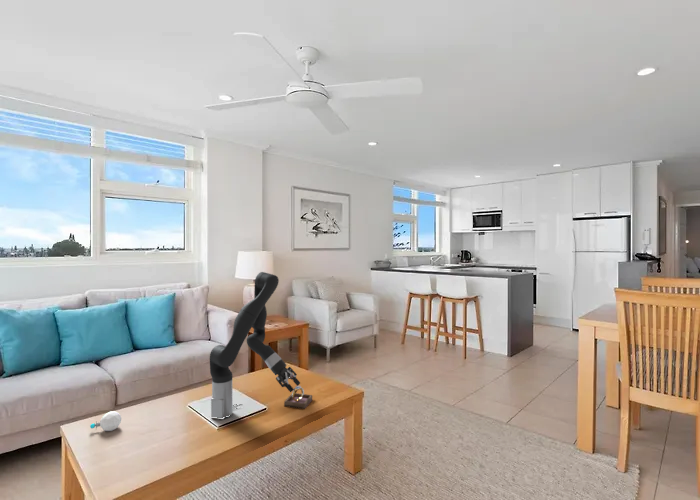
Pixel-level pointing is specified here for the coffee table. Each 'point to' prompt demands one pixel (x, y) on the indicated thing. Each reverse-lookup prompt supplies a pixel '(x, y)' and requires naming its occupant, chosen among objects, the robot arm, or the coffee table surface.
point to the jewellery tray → (295, 404)
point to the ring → (296, 391)
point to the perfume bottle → (108, 421)
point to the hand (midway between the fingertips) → (295, 387)
